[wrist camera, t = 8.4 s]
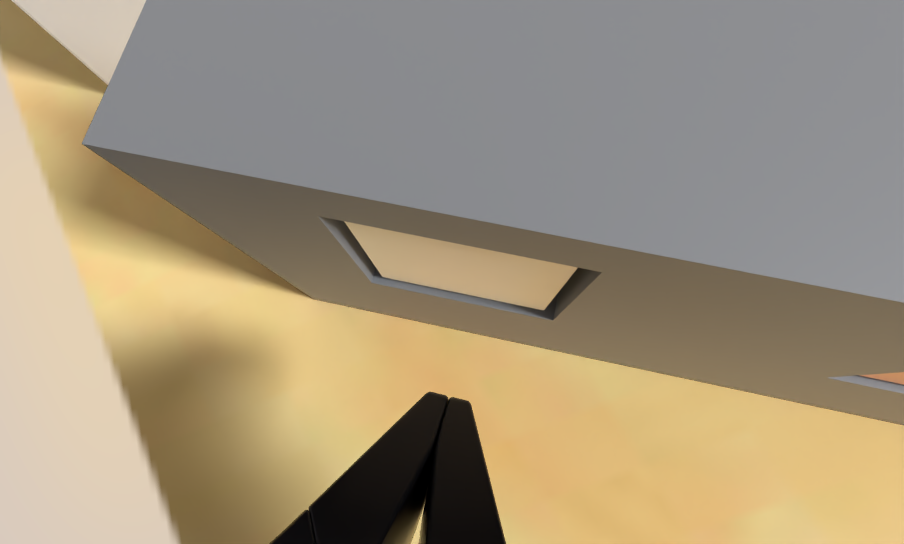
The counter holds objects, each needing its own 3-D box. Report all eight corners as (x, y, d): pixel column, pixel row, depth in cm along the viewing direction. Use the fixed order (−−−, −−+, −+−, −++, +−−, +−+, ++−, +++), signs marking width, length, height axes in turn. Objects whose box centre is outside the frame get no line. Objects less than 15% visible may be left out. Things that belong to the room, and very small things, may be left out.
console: (967, 438, 16) (1979, 510, 5) (313, 299, 18) (82, 143, 7) (961, 289, 17) (1772, 102, 6) (350, 174, 19) (199, -118, 8)
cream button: (543, 310, 12) (579, 265, 8) (382, 277, 12) (342, 218, 8) (556, 240, 12) (596, 165, 8) (399, 210, 13) (368, 124, 9)
